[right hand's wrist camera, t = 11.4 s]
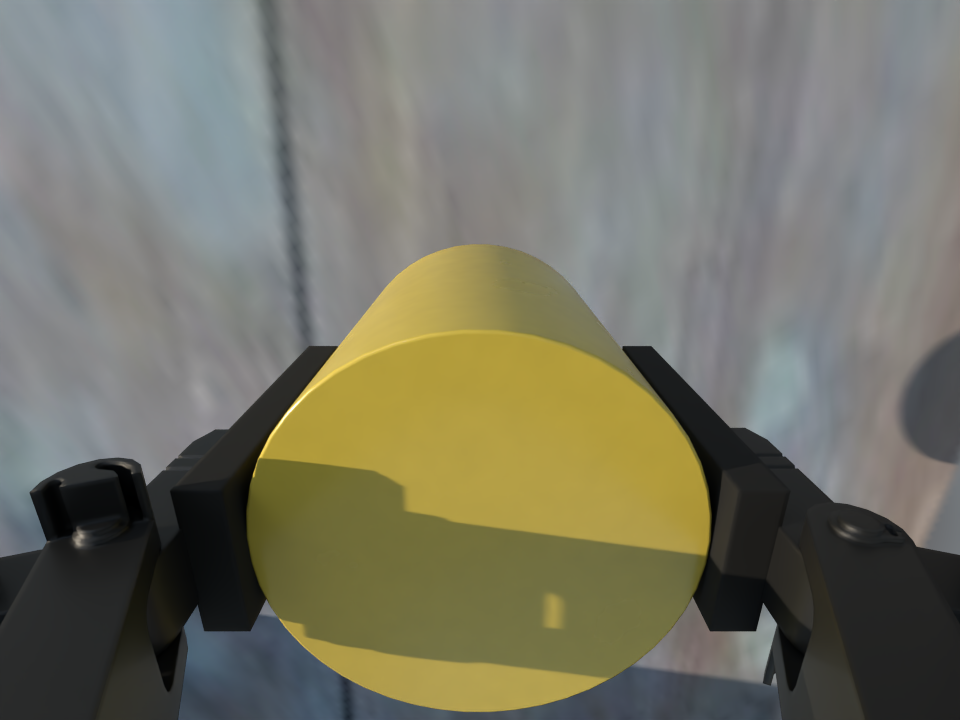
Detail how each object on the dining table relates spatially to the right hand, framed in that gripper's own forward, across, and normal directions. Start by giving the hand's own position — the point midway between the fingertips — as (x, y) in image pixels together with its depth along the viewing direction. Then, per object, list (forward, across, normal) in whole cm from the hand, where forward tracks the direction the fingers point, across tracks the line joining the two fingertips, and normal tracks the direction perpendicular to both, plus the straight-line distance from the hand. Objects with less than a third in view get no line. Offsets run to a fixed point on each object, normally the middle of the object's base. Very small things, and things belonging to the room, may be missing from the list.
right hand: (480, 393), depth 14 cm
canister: (+3, 0, 0) cm, 3 cm away
